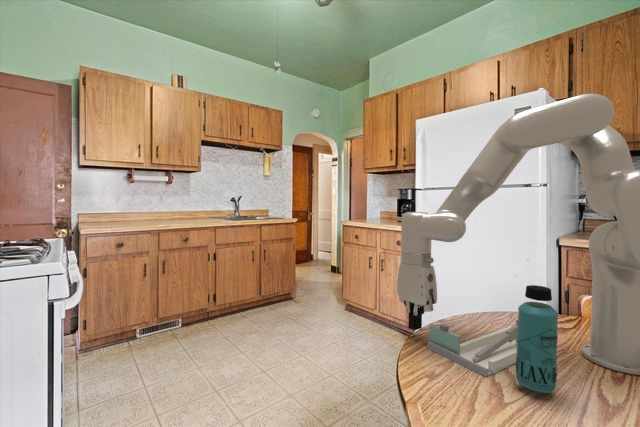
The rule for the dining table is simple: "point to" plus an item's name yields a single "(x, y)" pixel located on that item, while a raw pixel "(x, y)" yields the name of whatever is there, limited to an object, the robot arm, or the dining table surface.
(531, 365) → the beverage bottle
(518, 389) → the dining table surface
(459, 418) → the dining table surface
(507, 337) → the caliper
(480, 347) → the housing
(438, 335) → the gate
